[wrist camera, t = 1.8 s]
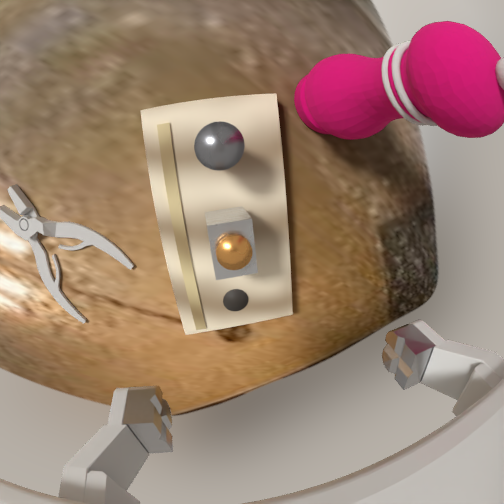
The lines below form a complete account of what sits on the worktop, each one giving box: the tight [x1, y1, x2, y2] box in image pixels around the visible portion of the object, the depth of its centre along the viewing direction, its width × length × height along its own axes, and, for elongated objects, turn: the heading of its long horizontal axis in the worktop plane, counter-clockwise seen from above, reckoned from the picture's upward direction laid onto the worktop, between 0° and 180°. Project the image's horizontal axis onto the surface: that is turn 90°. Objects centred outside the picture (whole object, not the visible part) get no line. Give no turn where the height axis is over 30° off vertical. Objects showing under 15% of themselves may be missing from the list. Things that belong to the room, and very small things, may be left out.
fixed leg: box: [194, 121, 245, 171], centre depth 19 cm, size 3×3×5 cm
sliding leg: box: [205, 206, 258, 280], centre depth 21 cm, size 4×3×5 cm
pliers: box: [0, 184, 134, 323], centre depth 22 cm, size 10×2×15 cm
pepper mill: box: [294, 21, 504, 140], centre depth 14 cm, size 7×7×20 cm
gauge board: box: [141, 94, 293, 335], centre depth 24 cm, size 21×11×2 cm, turn 6°
